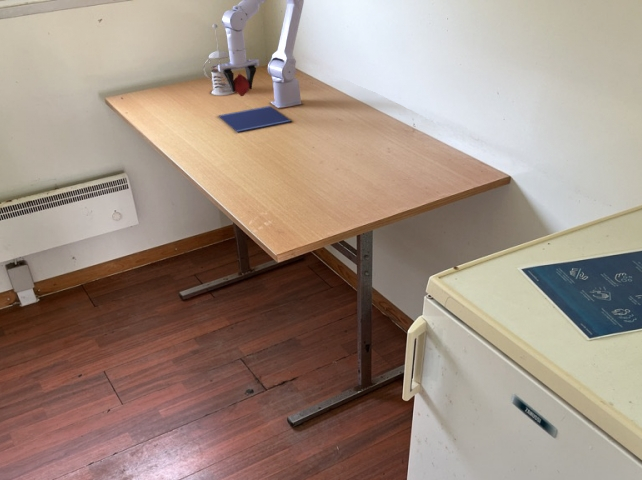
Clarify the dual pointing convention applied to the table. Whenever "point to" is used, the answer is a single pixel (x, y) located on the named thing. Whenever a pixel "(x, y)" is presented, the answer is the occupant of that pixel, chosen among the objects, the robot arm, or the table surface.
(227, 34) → the robot arm
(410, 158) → the table surface
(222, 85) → the french press
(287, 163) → the table surface
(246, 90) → the onion
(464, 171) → the table surface
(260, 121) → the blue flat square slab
